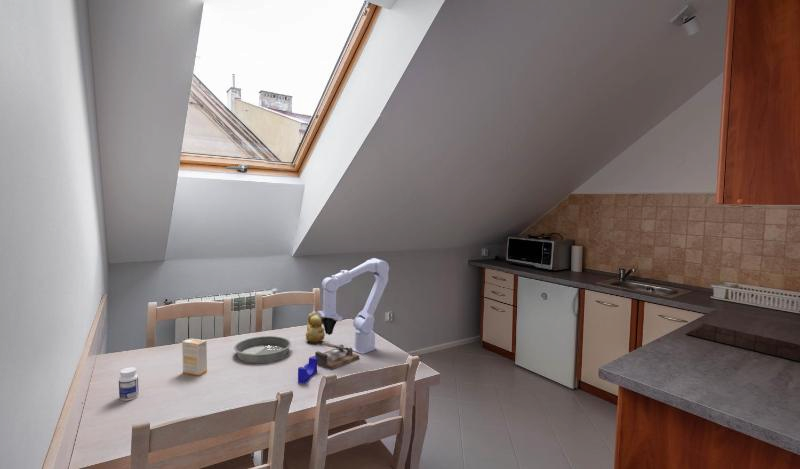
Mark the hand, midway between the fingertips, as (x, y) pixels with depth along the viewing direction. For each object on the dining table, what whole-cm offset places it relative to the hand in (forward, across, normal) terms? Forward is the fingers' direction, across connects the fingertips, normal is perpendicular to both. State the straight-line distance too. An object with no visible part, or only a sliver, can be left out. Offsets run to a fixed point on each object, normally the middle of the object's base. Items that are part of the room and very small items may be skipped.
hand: (328, 333), depth 190 cm
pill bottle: (+11, -22, -73) cm, 77 cm away
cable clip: (+11, +10, -21) cm, 25 cm away
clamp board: (+10, +5, -1) cm, 12 cm away
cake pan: (+11, -24, -18) cm, 32 cm away
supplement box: (+11, -26, -48) cm, 56 cm away
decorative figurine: (+11, -19, +8) cm, 23 cm away
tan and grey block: (+5, +5, 0) cm, 7 cm away
